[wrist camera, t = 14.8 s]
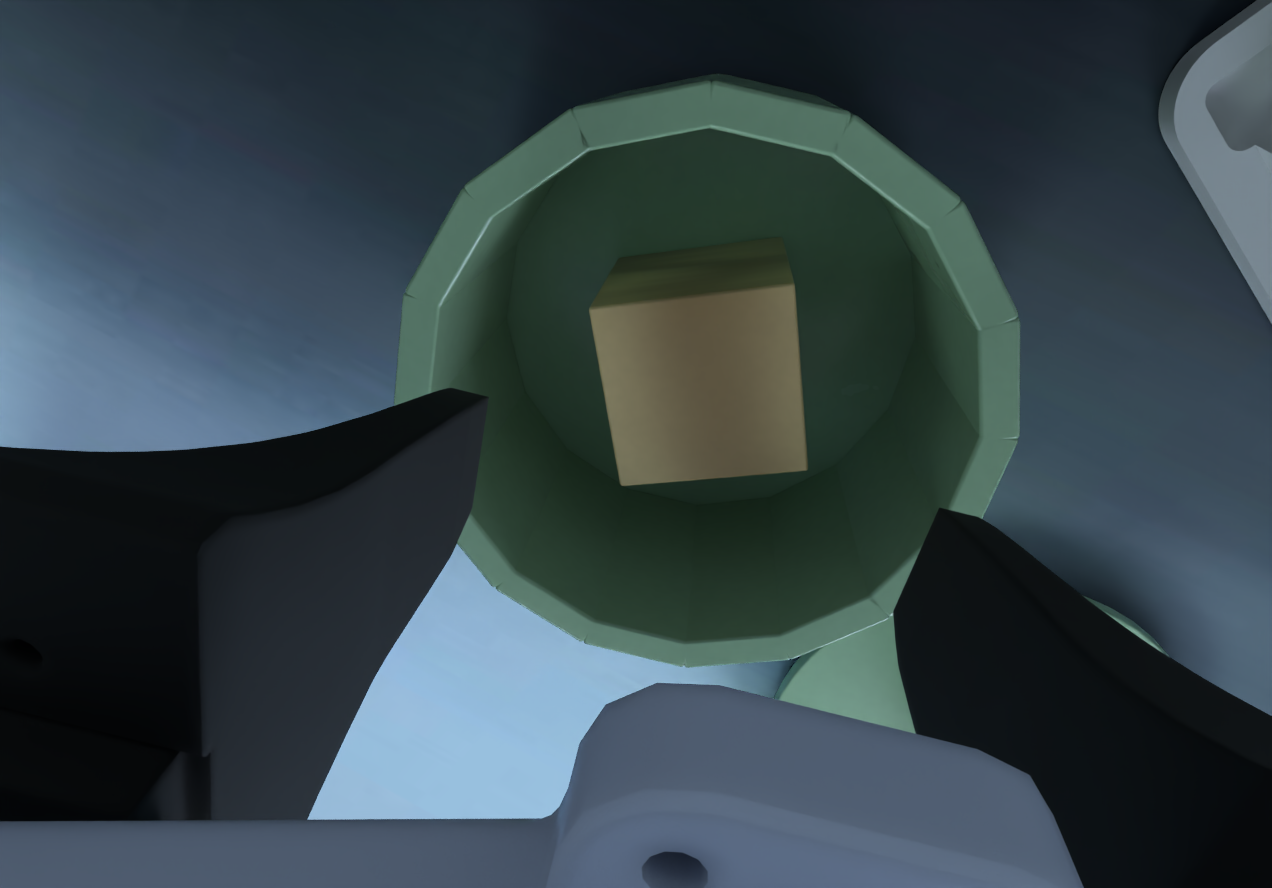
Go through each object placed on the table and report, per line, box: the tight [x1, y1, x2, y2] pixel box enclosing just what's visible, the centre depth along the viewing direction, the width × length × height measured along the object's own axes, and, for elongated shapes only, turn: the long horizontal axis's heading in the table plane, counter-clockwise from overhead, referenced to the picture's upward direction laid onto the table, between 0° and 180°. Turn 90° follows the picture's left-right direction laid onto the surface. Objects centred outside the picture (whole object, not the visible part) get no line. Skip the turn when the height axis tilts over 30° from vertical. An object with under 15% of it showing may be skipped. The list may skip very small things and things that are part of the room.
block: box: [589, 237, 808, 486], centre depth 19 cm, size 4×4×4 cm
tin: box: [394, 73, 1020, 668], centre depth 18 cm, size 11×11×6 cm
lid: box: [774, 596, 1170, 734], centre depth 24 cm, size 12×12×5 cm
